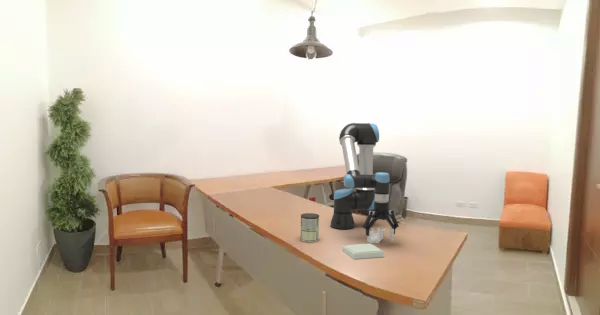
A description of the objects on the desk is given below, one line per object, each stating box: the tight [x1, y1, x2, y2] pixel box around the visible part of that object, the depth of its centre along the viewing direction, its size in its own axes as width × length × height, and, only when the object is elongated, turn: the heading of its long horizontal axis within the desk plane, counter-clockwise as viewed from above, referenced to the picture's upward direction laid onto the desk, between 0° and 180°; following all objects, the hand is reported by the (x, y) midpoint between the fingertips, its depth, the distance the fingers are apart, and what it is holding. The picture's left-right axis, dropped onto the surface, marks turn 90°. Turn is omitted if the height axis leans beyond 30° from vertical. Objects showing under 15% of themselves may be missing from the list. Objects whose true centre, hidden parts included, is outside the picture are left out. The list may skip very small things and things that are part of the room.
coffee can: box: [300, 212, 320, 243], centre depth 225 cm, size 10×10×14 cm
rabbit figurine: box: [367, 226, 387, 244], centre depth 221 cm, size 12×8×10 cm, turn 117°
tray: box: [342, 243, 385, 260], centre depth 201 cm, size 14×16×3 cm
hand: (380, 241), depth 215 cm, fingers open, 13 cm apart
